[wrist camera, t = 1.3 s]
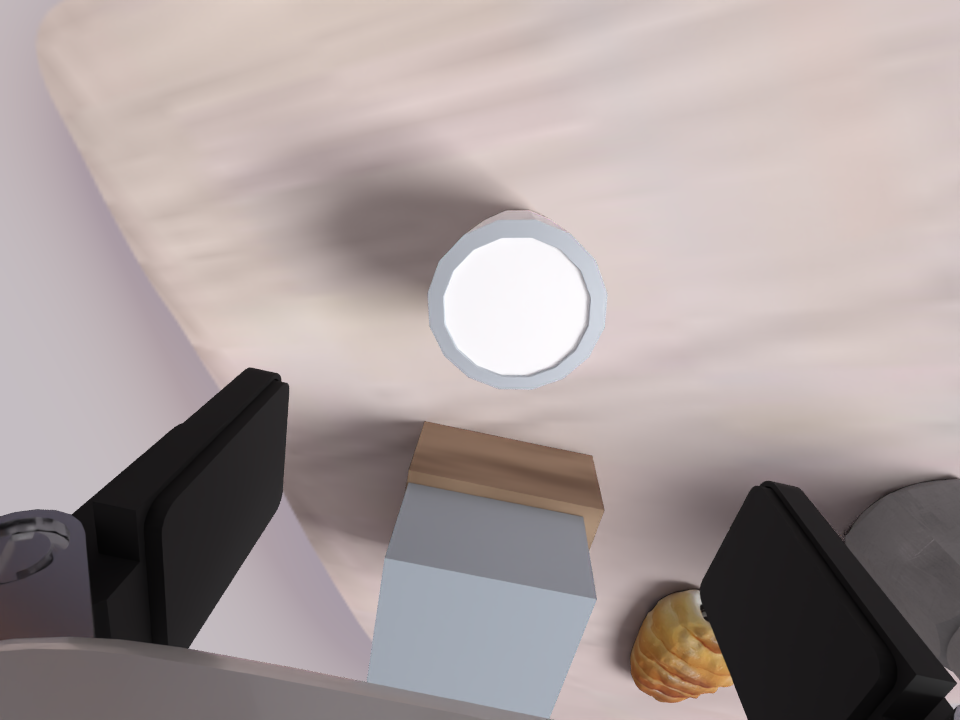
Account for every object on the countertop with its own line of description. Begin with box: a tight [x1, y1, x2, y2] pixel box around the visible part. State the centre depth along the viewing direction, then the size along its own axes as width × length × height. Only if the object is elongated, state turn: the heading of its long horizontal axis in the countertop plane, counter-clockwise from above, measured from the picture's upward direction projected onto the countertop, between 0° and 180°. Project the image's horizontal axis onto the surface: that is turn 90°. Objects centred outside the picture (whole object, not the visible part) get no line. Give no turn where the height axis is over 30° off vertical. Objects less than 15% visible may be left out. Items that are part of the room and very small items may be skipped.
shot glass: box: [428, 210, 607, 390], centre depth 23 cm, size 7×7×7 cm
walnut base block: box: [405, 421, 604, 549], centre depth 30 cm, size 10×10×5 cm
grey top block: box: [367, 483, 597, 719], centre depth 26 cm, size 9×9×5 cm
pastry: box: [630, 590, 733, 703], centre depth 34 cm, size 9×7×4 cm
